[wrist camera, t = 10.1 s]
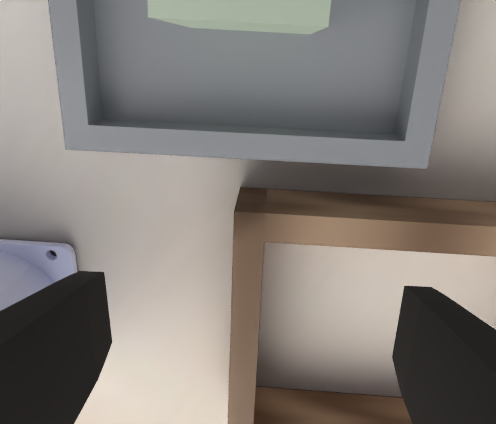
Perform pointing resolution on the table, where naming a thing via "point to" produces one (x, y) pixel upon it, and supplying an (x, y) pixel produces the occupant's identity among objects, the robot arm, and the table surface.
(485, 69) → the table surface
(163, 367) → the table surface
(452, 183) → the table surface
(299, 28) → the block
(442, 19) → the tray
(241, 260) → the frame
